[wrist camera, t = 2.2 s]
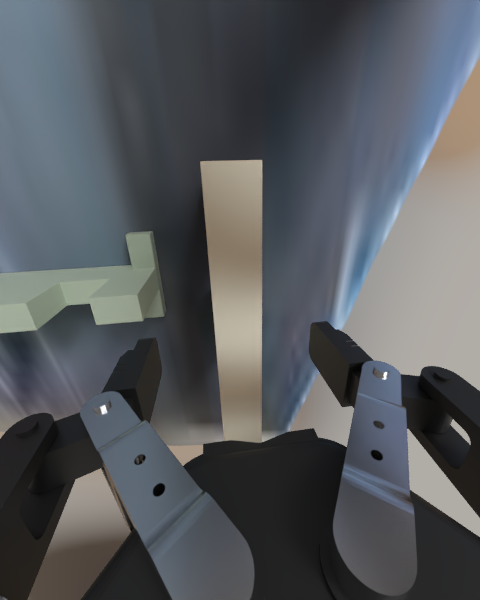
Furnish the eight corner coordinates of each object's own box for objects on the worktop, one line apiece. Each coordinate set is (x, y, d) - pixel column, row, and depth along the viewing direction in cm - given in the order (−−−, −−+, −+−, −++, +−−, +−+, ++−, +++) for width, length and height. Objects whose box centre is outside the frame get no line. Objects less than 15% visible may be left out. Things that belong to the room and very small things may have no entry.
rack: (-95, 243, 21) (-259, 272, 13) (152, 231, 23) (127, 249, 15) (-47, 327, 24) (-158, 387, 17) (166, 309, 26) (150, 356, 19)
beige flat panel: (204, 180, 21) (199, 161, 8) (226, 179, 22) (262, 159, 8) (217, 338, 28) (227, 477, 14) (234, 336, 28) (261, 472, 14)
